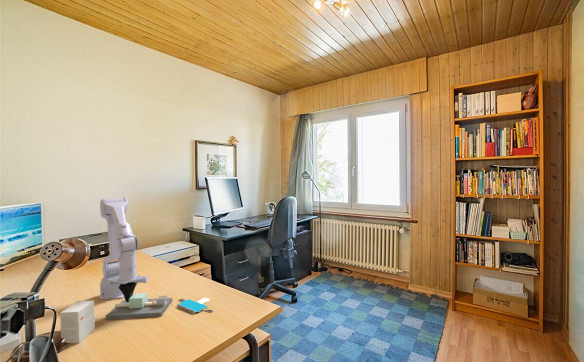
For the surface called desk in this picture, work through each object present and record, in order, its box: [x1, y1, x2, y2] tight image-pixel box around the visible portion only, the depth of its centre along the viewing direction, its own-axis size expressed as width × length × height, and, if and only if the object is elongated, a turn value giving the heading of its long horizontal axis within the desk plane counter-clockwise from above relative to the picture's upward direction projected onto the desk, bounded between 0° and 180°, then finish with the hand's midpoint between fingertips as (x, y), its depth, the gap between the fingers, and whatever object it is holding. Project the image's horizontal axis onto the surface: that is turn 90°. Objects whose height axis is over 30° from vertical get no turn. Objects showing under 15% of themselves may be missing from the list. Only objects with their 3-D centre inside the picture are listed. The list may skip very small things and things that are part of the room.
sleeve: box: [129, 292, 148, 309], centre depth 106 cm, size 5×4×4 cm
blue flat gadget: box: [176, 297, 213, 315], centre depth 110 cm, size 20×12×2 cm, turn 59°
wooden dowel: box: [114, 301, 166, 308], centre depth 106 cm, size 19×2×2 cm, turn 96°
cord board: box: [105, 297, 173, 320], centre depth 106 cm, size 20×12×2 cm, turn 96°
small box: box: [59, 300, 96, 344], centre depth 89 cm, size 8×6×10 cm
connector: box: [155, 295, 168, 307], centre depth 107 cm, size 3×3×3 cm
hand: (128, 300), depth 106 cm, fingers closed
